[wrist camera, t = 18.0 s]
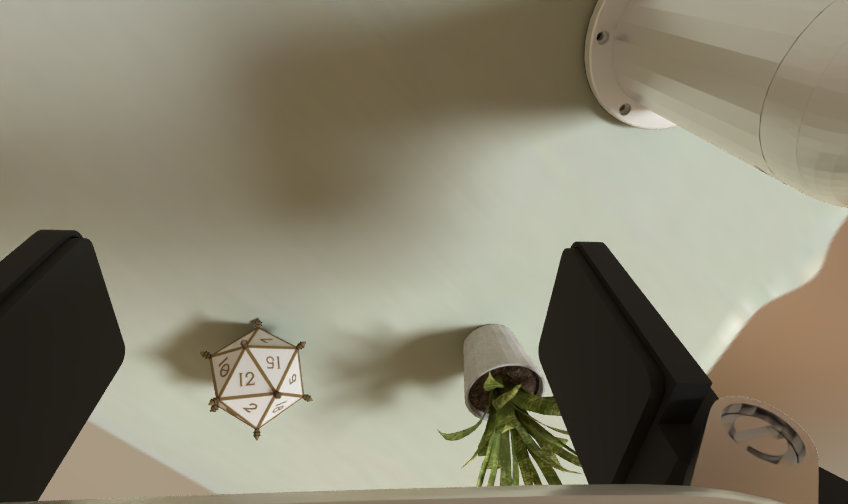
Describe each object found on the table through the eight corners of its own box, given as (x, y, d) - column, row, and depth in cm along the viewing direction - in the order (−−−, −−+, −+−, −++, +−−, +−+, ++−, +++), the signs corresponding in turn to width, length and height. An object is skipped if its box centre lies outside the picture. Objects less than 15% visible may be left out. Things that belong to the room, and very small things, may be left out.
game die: (283, 332, 49) (283, 440, 45) (191, 327, 43) (183, 449, 40) (327, 308, 42) (332, 431, 39) (225, 299, 37) (220, 441, 33)
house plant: (528, 411, 53) (589, 573, 39) (404, 399, 50) (422, 570, 36) (583, 307, 47) (679, 459, 33) (443, 285, 43) (484, 443, 29)
